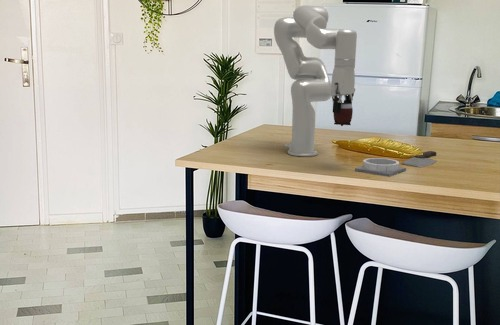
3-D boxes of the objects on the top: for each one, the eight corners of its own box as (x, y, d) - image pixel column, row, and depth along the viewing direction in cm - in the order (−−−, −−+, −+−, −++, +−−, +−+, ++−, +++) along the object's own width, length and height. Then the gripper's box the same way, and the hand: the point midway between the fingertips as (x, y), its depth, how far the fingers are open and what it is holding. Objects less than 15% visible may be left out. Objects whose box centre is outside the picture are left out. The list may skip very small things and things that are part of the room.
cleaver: (424, 154, 260) (424, 149, 260) (447, 157, 255) (447, 152, 254) (399, 166, 236) (399, 161, 236) (423, 169, 231) (424, 164, 230)
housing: (354, 170, 224) (355, 161, 223) (372, 165, 235) (373, 156, 234) (389, 176, 215) (389, 167, 215) (406, 170, 226) (406, 161, 225)
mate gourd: (351, 126, 222) (353, 85, 218) (329, 125, 223) (332, 85, 220) (352, 123, 229) (354, 84, 225) (331, 122, 230) (333, 83, 227)
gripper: (347, 62, 230) (345, 109, 234) (323, 64, 217) (321, 113, 221) (365, 63, 225) (362, 111, 229) (341, 65, 212) (338, 115, 216)
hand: (342, 111), depth 225 cm, fingers closed on mate gourd, 7 cm apart
